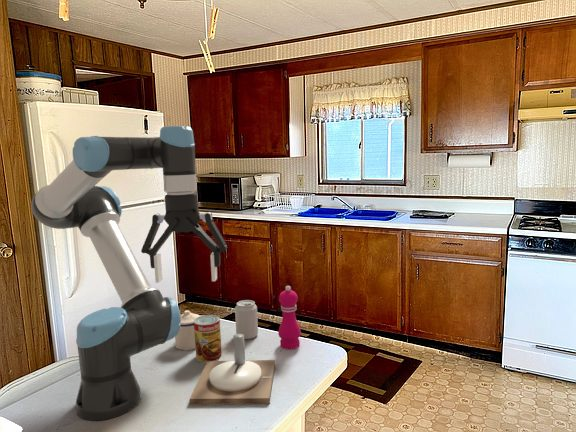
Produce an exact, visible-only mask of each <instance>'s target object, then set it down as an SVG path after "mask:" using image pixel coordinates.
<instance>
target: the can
mask: <svg viewBox="0 0 576 432" xmlns="http://www.w3.org/2000/svg"><path fill="white" fill-rule="evenodd" d="M255 303H256V302H255V301H254V300H252V299H251V300H250V299H245V300H244V299H243V300H239V301H238V302H236V306H235V307H234V313H235V314H234V316H235V334H243V335H244V340H252V339H255V338H256V337H257V336H258V335H259V327H258V326H259V325H258V323H259V322H258V320H259V319H258V306H257V305H256V304H255Z"/></svg>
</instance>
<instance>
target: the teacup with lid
mask: <svg viewBox="0 0 576 432" xmlns="http://www.w3.org/2000/svg"><path fill="white" fill-rule="evenodd" d="M180 315H181V325H180V329H179V332H178V334H177V335H176V336H175V337H174V340H175V342H174V343H175V347H176V348H177V349H178V350H181V351H191V350H196V349H195V334H194V319H196V318H197V317H200V316H201V315H199V314H197V313H193V312H191V311H190V310H185V311H184V312H183V313H182V314H180Z"/></svg>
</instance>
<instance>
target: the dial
mask: <svg viewBox="0 0 576 432" xmlns="http://www.w3.org/2000/svg"><path fill="white" fill-rule="evenodd" d="M232 339H233V355H234V360H227V361H228V362H225V363H222V364H220V365H218V366H216V367H214V368H213V369H212V370H211V372H210V374H209V378H210V384H211V385H212V386H213V387H214V388H216V389H218V390H221V391H228V392H234V391H241V390H245V389H248V388H251V387H253V386H254V385H256V384H257V383H258V382H259V381H260V379H261V368H260V366H259V365H257V364H256V363H254V362H251V361H245V360H246V350H245V349H246V347H245V339H244V335H243V334H236V333H234V335H233V336H232Z"/></svg>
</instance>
